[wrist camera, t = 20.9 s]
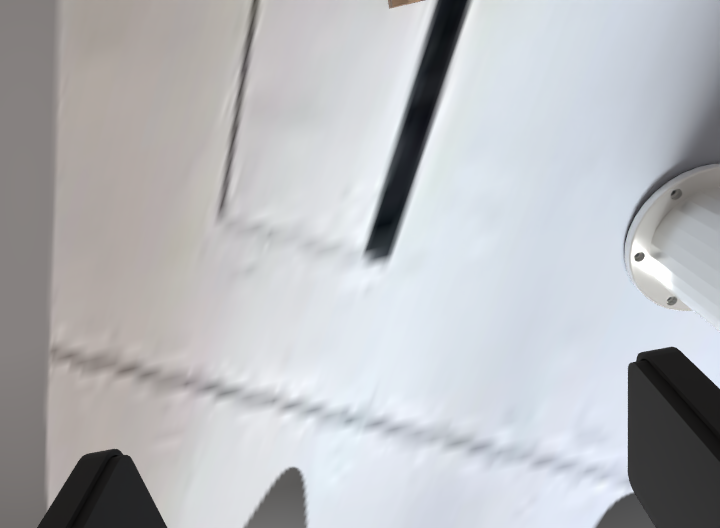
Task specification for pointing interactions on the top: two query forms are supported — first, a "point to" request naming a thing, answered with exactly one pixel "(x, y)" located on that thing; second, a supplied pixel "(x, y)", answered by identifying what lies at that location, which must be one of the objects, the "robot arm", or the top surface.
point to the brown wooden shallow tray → (401, 2)
